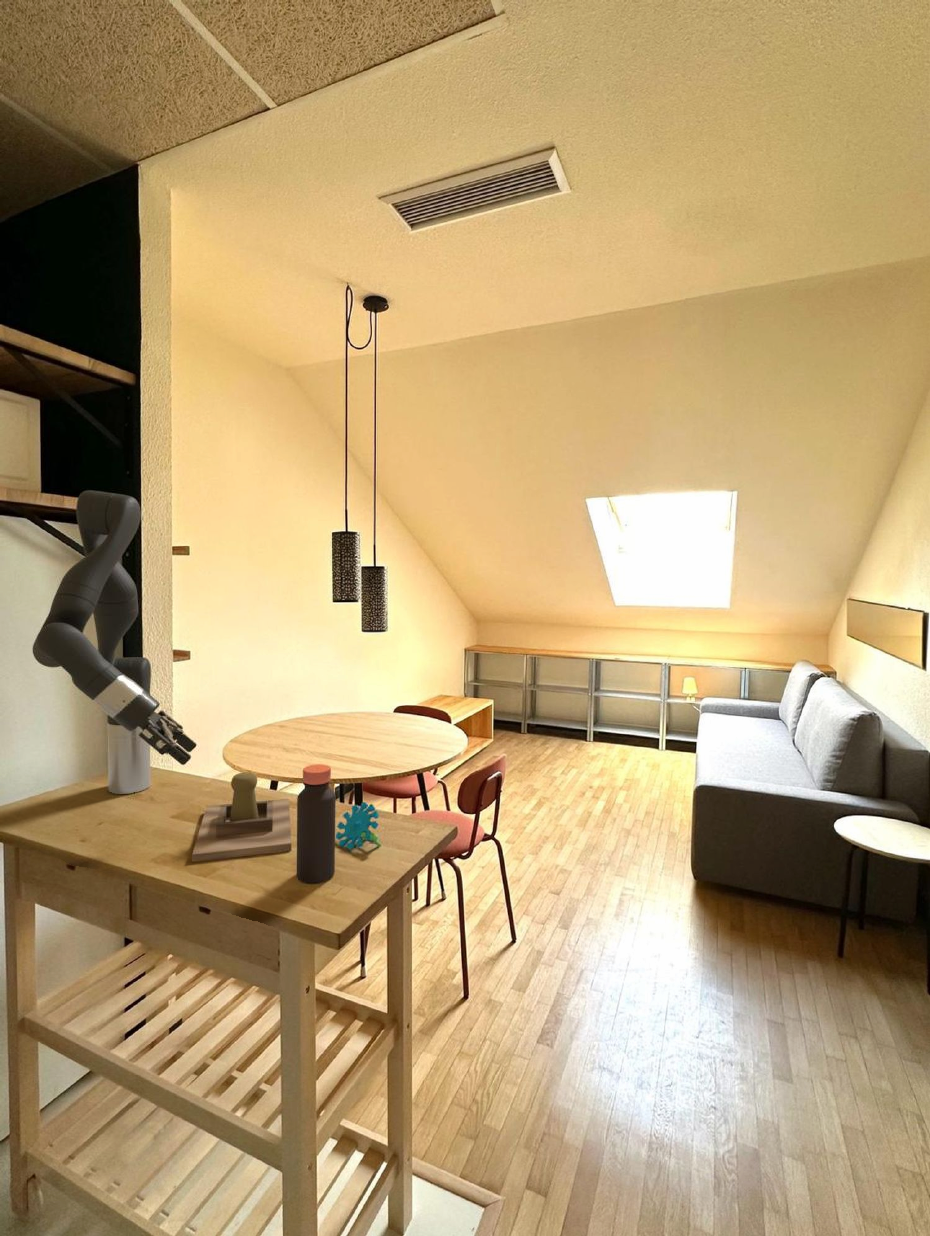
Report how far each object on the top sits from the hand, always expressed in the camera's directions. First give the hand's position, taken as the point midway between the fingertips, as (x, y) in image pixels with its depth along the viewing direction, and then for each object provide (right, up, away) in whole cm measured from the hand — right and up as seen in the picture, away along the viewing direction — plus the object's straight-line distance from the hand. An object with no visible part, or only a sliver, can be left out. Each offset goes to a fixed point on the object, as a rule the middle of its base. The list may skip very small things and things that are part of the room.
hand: (190, 754), depth 118 cm
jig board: (+10, -17, +4) cm, 20 cm away
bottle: (+29, -19, -13) cm, 37 cm away
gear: (+35, -19, 0) cm, 40 cm away
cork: (+10, -16, +4) cm, 19 cm away
